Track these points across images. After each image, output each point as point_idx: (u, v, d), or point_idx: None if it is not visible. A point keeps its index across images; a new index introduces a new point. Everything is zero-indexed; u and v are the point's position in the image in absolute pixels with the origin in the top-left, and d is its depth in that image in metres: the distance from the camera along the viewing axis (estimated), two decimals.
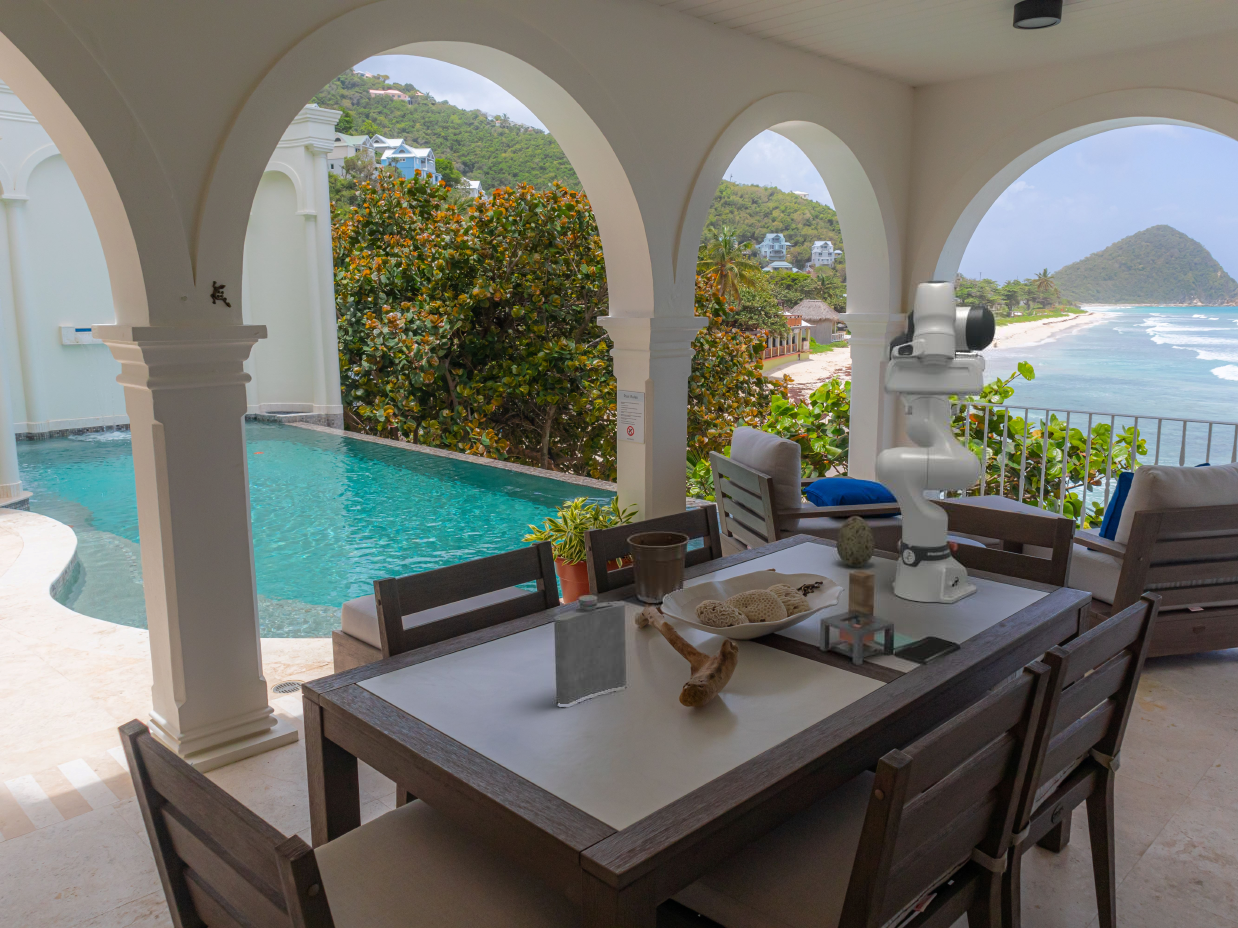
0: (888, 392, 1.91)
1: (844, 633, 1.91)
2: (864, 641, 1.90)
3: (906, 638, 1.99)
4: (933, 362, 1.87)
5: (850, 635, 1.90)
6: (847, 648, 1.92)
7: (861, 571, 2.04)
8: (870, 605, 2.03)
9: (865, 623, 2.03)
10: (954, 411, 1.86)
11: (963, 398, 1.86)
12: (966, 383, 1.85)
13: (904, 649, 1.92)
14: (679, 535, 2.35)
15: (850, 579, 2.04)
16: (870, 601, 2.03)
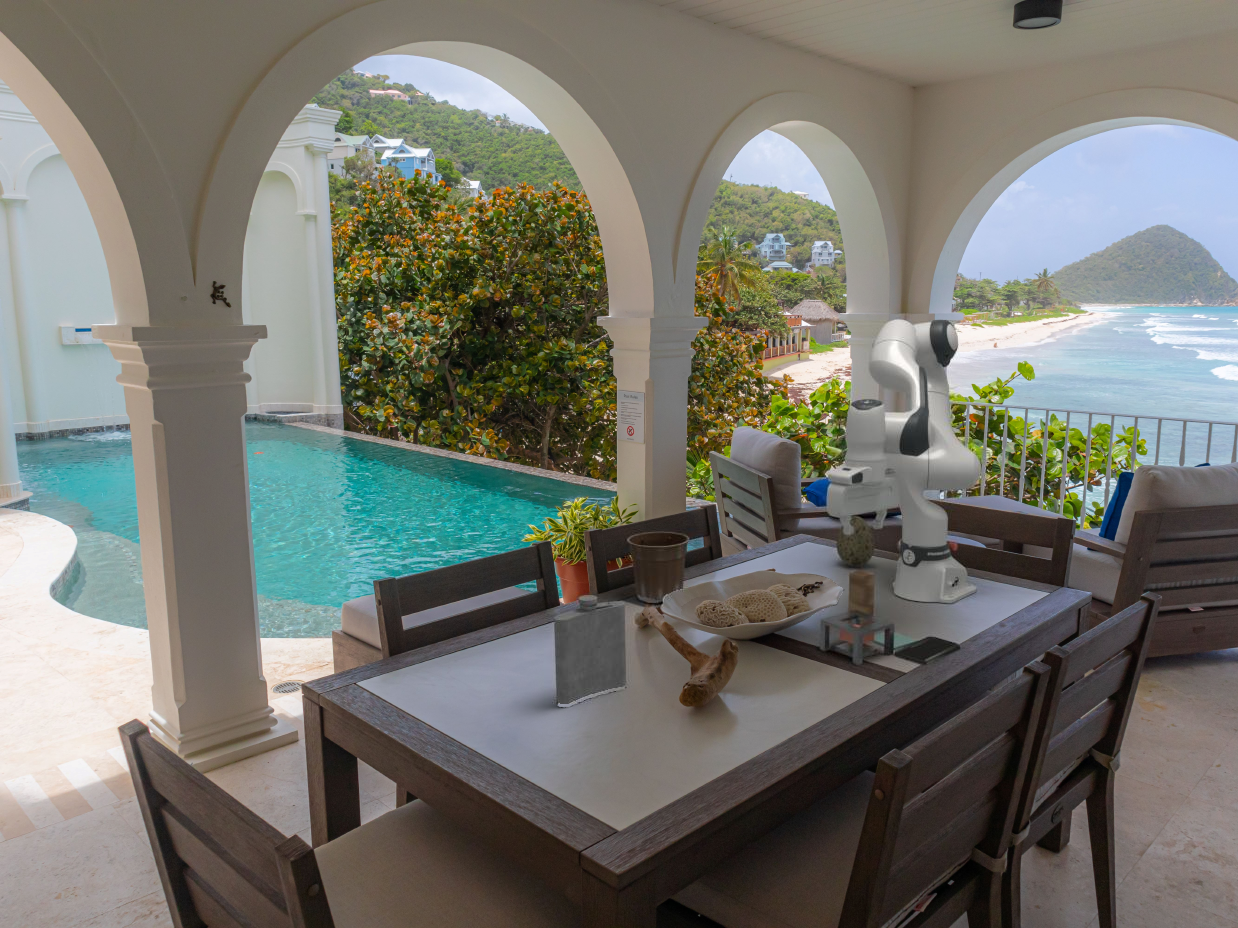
0: (837, 516, 1.95)
1: (844, 633, 1.91)
2: (864, 641, 1.90)
3: (906, 638, 1.99)
4: (874, 487, 1.97)
5: (850, 635, 1.90)
6: (847, 648, 1.92)
7: (861, 571, 2.04)
8: (870, 605, 2.03)
9: (865, 623, 2.03)
10: (879, 526, 2.03)
11: (885, 513, 2.03)
12: (890, 501, 2.02)
13: (904, 649, 1.92)
14: (679, 535, 2.35)
15: (850, 579, 2.03)
16: (870, 601, 2.03)
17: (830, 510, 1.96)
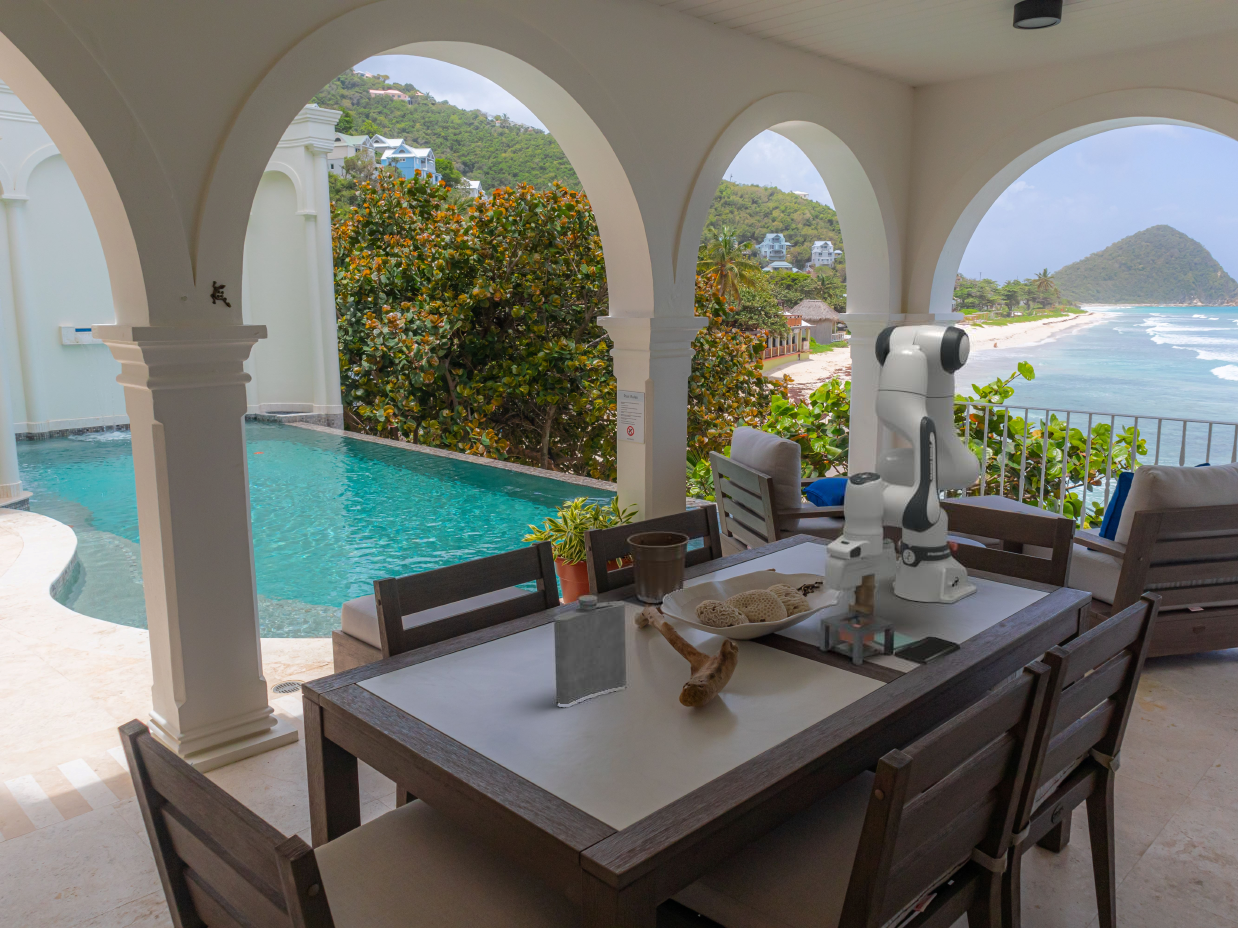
0: None
1: (844, 633, 1.91)
2: (864, 641, 1.90)
3: (906, 638, 1.99)
4: (872, 559, 2.00)
5: (850, 635, 1.90)
6: (847, 648, 1.92)
7: None
8: (870, 605, 2.03)
9: (865, 623, 2.03)
10: None
11: (877, 585, 2.05)
12: (887, 571, 2.05)
13: (904, 649, 1.92)
14: (679, 535, 2.35)
15: None
16: (870, 601, 2.03)
17: (829, 583, 1.98)
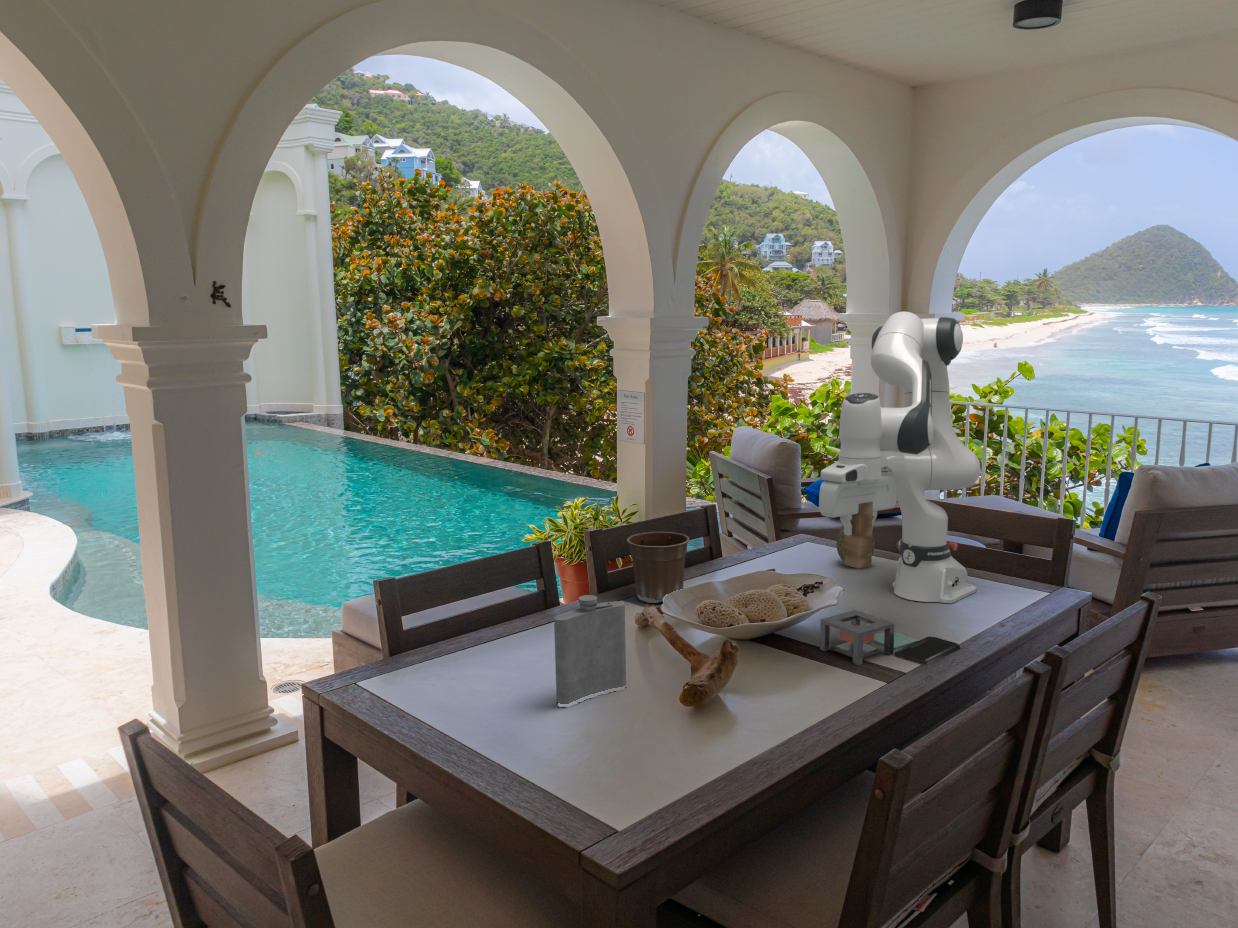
0: None
1: (844, 633, 1.91)
2: (864, 641, 1.90)
3: (906, 638, 1.99)
4: (870, 485, 1.86)
5: (850, 635, 1.90)
6: (847, 648, 1.92)
7: None
8: (868, 536, 1.89)
9: (863, 555, 1.89)
10: None
11: (875, 515, 1.91)
12: (886, 501, 1.91)
13: (904, 649, 1.92)
14: (679, 535, 2.35)
15: None
16: (868, 531, 1.89)
17: (823, 510, 1.84)
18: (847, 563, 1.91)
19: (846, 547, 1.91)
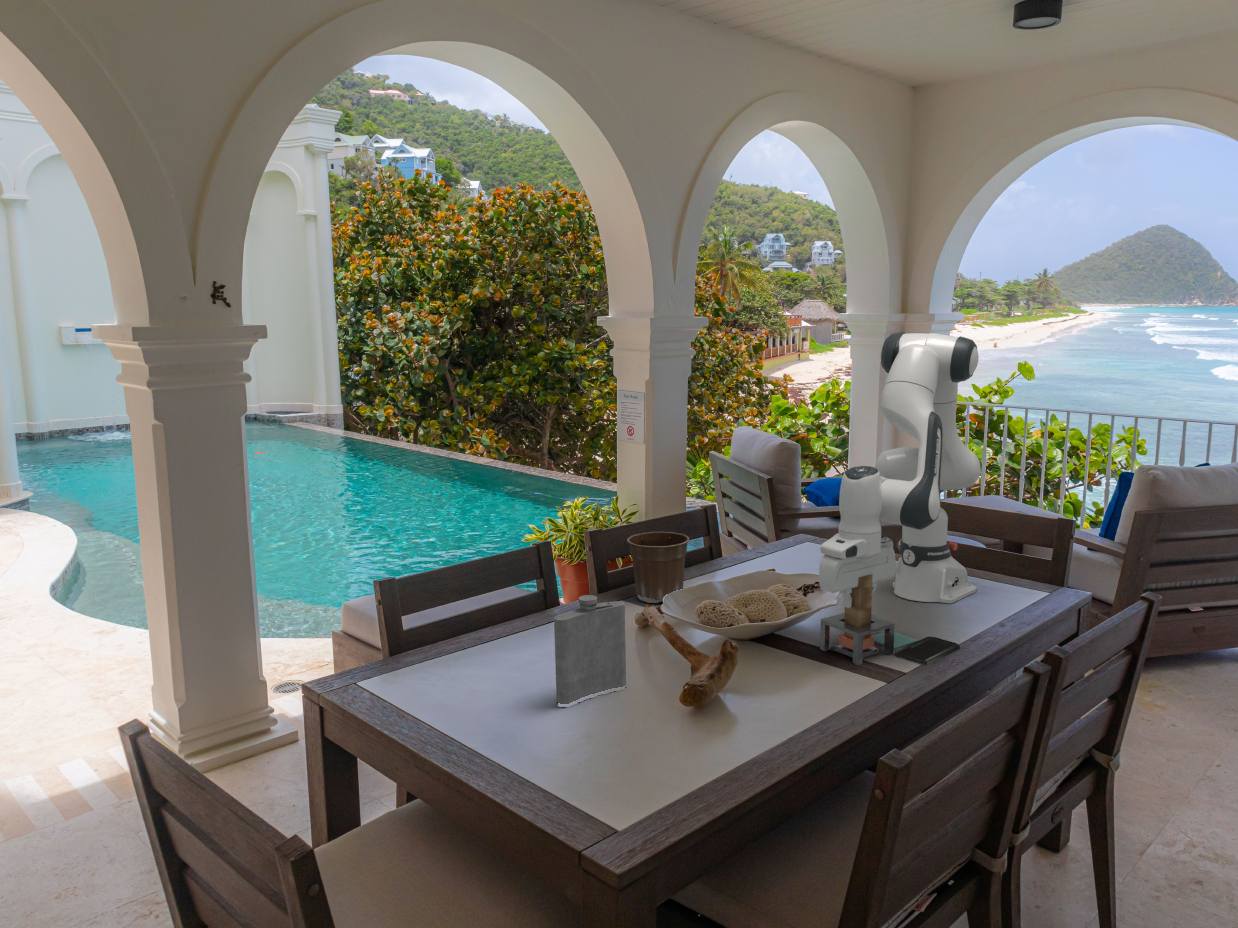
0: None
1: (844, 639, 1.92)
2: (864, 647, 1.90)
3: (906, 638, 1.99)
4: (869, 559, 1.86)
5: (850, 641, 1.90)
6: (847, 648, 1.92)
7: None
8: (868, 608, 1.90)
9: None
10: None
11: (875, 586, 1.92)
12: (886, 572, 1.92)
13: (904, 649, 1.92)
14: (679, 535, 2.35)
15: None
16: (868, 603, 1.90)
17: (823, 585, 1.85)
18: (847, 634, 1.92)
19: (845, 618, 1.92)
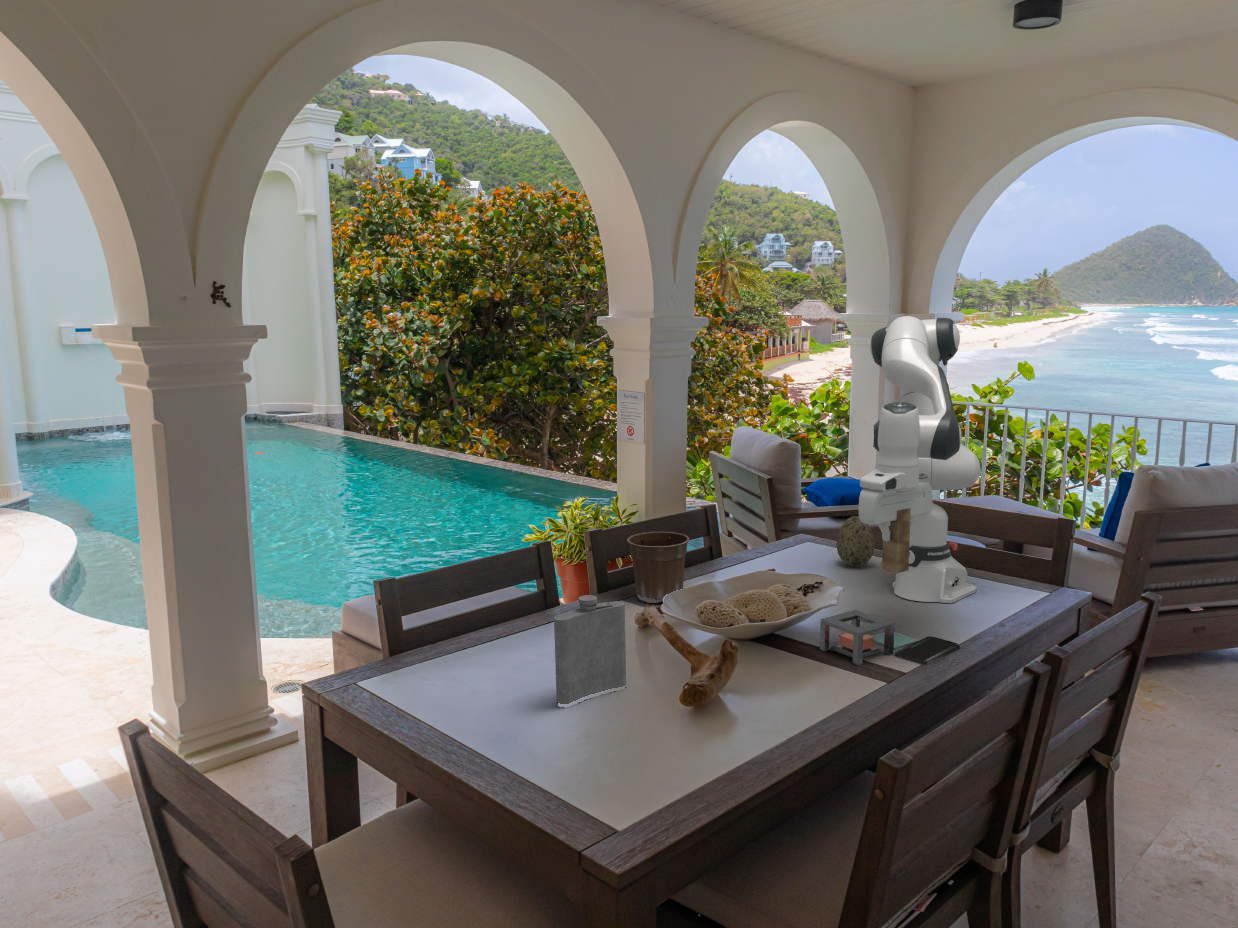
0: None
1: (844, 639, 1.92)
2: (864, 647, 1.90)
3: (906, 638, 1.99)
4: (908, 493, 1.90)
5: (850, 641, 1.90)
6: (847, 648, 1.92)
7: None
8: (906, 542, 1.94)
9: (900, 561, 1.93)
10: None
11: (912, 521, 1.96)
12: (923, 507, 1.96)
13: (904, 649, 1.92)
14: (679, 535, 2.35)
15: None
16: (906, 537, 1.93)
17: (862, 517, 1.89)
18: (885, 568, 1.96)
19: (883, 552, 1.95)
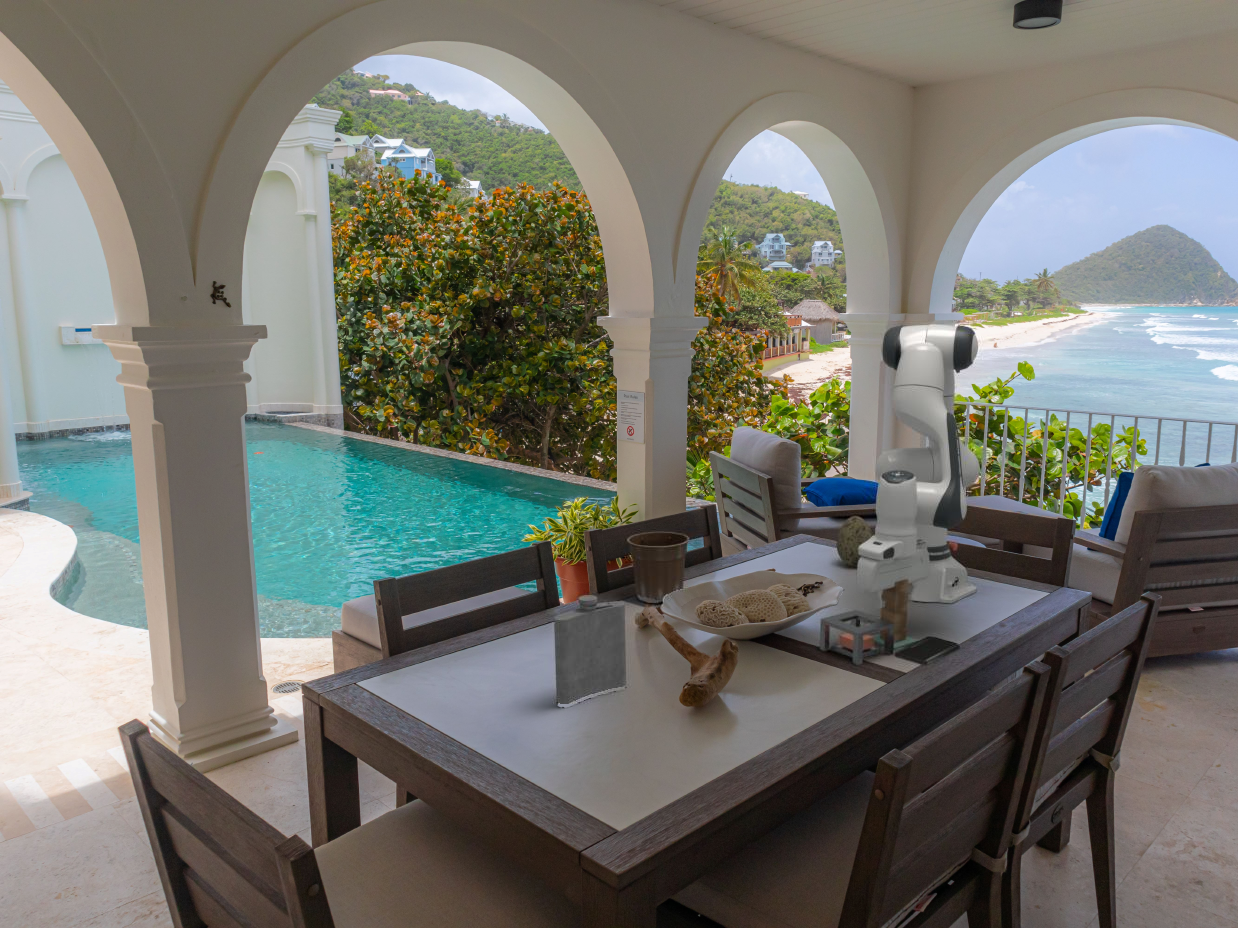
0: None
1: (844, 639, 1.92)
2: (864, 647, 1.90)
3: (906, 638, 1.99)
4: (905, 561, 1.93)
5: (850, 641, 1.90)
6: (847, 648, 1.92)
7: None
8: (903, 612, 1.96)
9: (898, 631, 1.96)
10: (909, 598, 1.99)
11: (915, 585, 1.99)
12: (920, 572, 1.98)
13: (904, 649, 1.92)
14: (679, 535, 2.35)
15: None
16: (904, 607, 1.96)
17: (861, 585, 1.91)
18: (883, 637, 1.98)
19: None
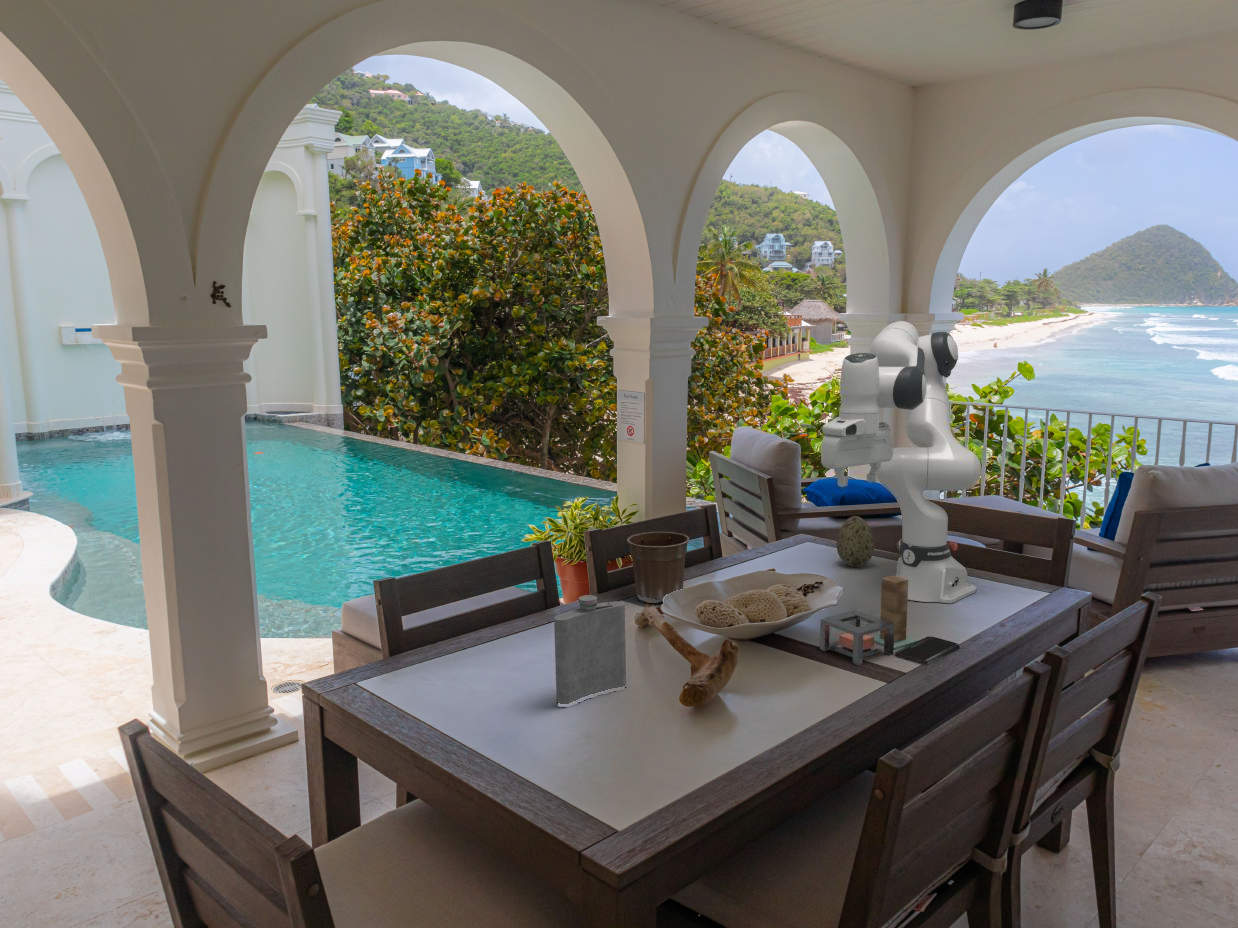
0: (831, 468, 1.98)
1: (844, 639, 1.92)
2: (864, 647, 1.90)
3: (906, 638, 1.99)
4: (868, 439, 2.00)
5: (850, 641, 1.90)
6: (847, 648, 1.92)
7: (894, 577, 1.98)
8: (903, 612, 1.96)
9: (898, 631, 1.96)
10: (873, 479, 2.06)
11: (879, 467, 2.06)
12: (883, 454, 2.05)
13: (904, 649, 1.92)
14: (679, 535, 2.35)
15: (882, 585, 1.97)
16: (904, 607, 1.96)
17: (824, 462, 1.98)
18: (882, 637, 1.98)
19: None
